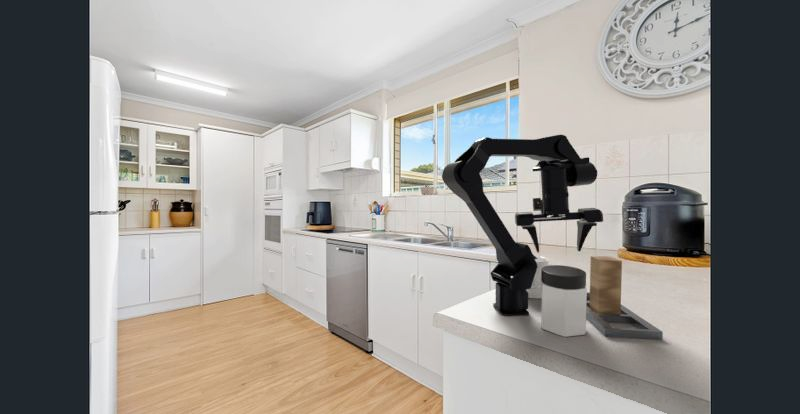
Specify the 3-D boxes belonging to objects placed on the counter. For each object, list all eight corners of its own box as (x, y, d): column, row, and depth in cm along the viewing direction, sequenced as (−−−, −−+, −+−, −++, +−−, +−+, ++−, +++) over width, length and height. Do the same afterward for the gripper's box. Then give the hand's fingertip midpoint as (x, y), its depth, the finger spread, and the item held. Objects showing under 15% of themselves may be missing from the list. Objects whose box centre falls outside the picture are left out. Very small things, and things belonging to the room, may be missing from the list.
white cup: (545, 301, 81) (546, 262, 81) (513, 296, 85) (514, 259, 85) (549, 293, 88) (550, 257, 87) (519, 288, 92) (520, 254, 91)
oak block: (598, 318, 70) (599, 260, 70) (589, 310, 75) (590, 256, 74) (620, 319, 70) (622, 260, 69) (610, 311, 74) (611, 256, 73)
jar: (593, 328, 65) (595, 271, 63) (576, 342, 60) (578, 280, 58) (549, 314, 72) (551, 262, 70) (531, 325, 66) (531, 269, 65)
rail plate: (605, 336, 62) (605, 328, 61) (563, 297, 84) (563, 291, 84) (662, 339, 60) (662, 331, 60) (603, 298, 83) (604, 293, 83)
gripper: (587, 184, 82) (590, 243, 83) (511, 190, 87) (515, 245, 89) (602, 185, 72) (605, 253, 73) (514, 192, 77) (519, 255, 78)
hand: (558, 251), depth 78 cm, fingers open, 9 cm apart
